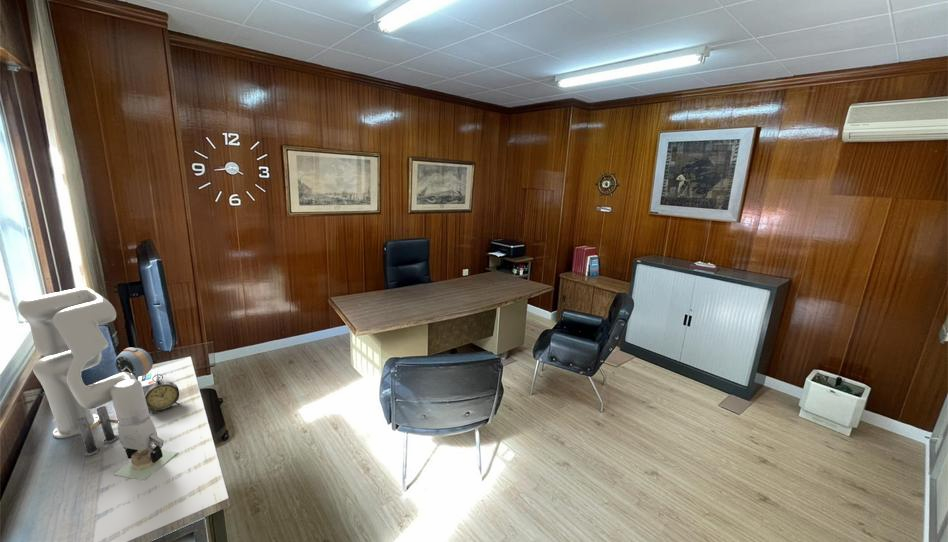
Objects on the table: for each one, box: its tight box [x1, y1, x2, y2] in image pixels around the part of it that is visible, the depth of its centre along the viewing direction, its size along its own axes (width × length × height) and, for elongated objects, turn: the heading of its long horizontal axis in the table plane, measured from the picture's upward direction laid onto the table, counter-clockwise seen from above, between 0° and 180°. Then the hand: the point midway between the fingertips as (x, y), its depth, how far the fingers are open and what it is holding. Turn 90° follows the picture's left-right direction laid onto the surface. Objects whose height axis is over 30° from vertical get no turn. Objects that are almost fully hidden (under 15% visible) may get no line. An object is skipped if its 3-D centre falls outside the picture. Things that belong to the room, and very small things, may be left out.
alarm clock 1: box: [114, 347, 161, 380], centre depth 170 cm, size 14×10×18 cm
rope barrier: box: [77, 405, 152, 457], centre depth 130 cm, size 19×10×14 cm, turn 81°
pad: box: [113, 449, 179, 481], centre depth 126 cm, size 12×12×1 cm
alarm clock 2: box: [145, 373, 180, 414], centre depth 152 cm, size 11×5×16 cm, turn 132°
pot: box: [130, 445, 159, 471], centre depth 126 cm, size 6×6×4 cm
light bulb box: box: [138, 371, 160, 409], centre depth 157 cm, size 11×7×11 cm, turn 37°
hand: (145, 457), depth 125 cm, fingers open, 9 cm apart
